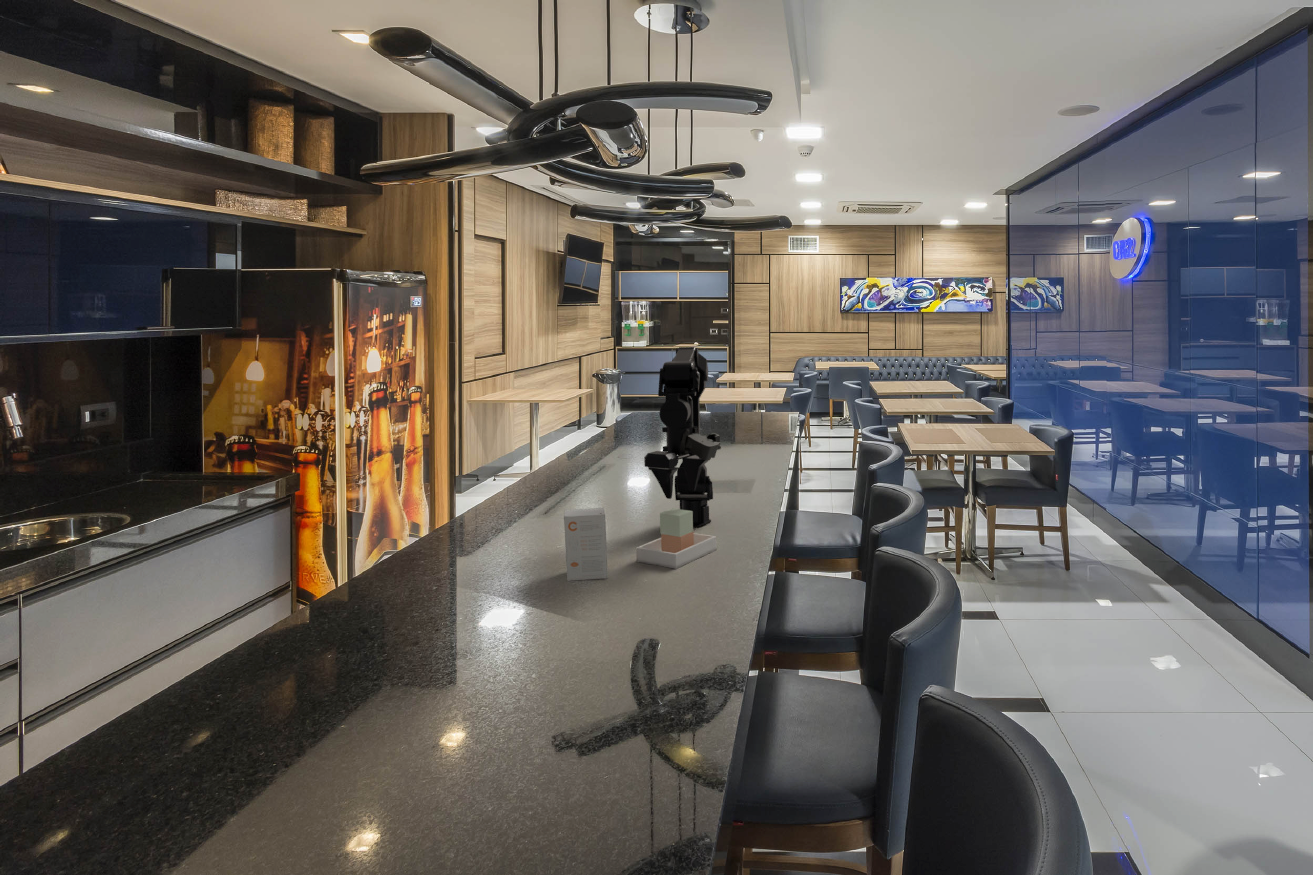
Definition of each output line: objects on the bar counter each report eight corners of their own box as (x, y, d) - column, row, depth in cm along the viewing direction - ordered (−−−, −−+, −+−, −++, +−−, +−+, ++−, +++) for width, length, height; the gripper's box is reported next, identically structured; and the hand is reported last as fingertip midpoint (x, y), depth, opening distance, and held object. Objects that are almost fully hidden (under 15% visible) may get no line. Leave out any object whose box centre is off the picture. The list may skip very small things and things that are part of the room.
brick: (661, 554, 174) (661, 533, 174) (674, 548, 178) (674, 528, 178) (681, 557, 171) (680, 536, 171) (694, 551, 175) (693, 531, 175)
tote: (636, 561, 171) (636, 547, 171) (678, 543, 184) (678, 530, 184) (676, 568, 165) (675, 554, 165) (716, 549, 178) (716, 536, 178)
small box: (606, 569, 166) (604, 506, 164) (608, 579, 160) (605, 514, 158) (566, 571, 166) (564, 508, 164) (566, 581, 159) (563, 516, 157)
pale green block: (679, 536, 171) (679, 515, 170) (660, 533, 174) (659, 513, 173) (692, 531, 175) (692, 511, 174) (673, 528, 178) (673, 508, 177)
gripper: (687, 429, 160) (689, 507, 162) (734, 418, 175) (735, 490, 178) (641, 426, 167) (643, 501, 169) (691, 416, 182) (692, 485, 184)
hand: (681, 494), depth 175 cm, fingers open, 9 cm apart
